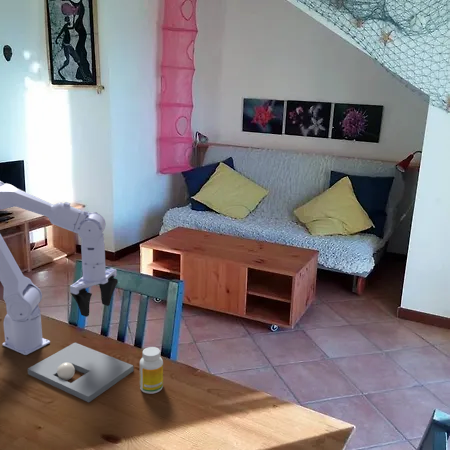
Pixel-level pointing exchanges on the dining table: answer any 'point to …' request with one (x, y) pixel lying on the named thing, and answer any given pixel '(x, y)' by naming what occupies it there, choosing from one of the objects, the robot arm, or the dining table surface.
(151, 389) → the supplement bottle
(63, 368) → the ball
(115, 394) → the dining table surface
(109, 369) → the plate
